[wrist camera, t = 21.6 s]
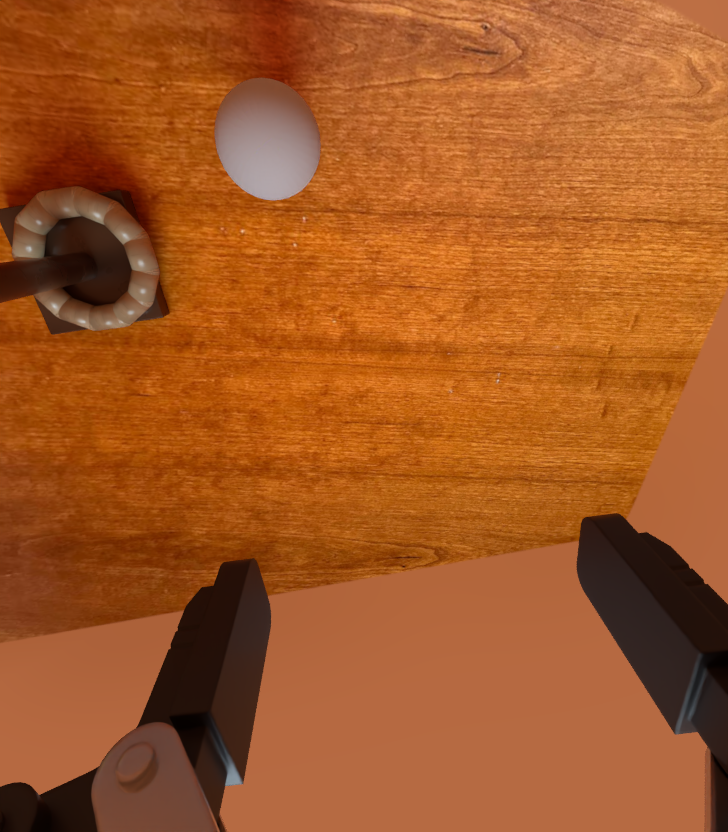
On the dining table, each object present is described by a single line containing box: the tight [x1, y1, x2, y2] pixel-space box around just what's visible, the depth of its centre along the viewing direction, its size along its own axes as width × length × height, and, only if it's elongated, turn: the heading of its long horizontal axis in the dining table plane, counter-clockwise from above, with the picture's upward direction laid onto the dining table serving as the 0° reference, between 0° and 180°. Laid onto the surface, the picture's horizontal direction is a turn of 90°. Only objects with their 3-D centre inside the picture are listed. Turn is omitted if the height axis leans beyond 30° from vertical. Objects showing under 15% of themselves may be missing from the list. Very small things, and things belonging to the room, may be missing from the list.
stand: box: [0, 190, 169, 334], centre depth 27 cm, size 9×9×14 cm
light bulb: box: [215, 78, 321, 200], centre depth 27 cm, size 6×6×10 cm
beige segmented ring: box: [12, 186, 160, 331], centre depth 31 cm, size 10×10×2 cm
